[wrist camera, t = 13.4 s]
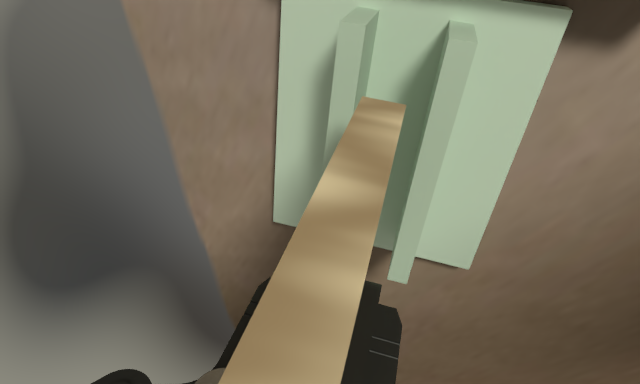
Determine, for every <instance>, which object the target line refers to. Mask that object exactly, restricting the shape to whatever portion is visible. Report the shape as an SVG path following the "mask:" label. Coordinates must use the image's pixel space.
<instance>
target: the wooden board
mask: <svg viewBox="0 0 640 384" xmlns="http://www.w3.org/2000/svg"><path fill="white" fill-rule="evenodd" d="M405 109H406V105H404V104H399V103H394V102H389V101H384V100H379V99H374V98H369V97H364V96H362V98H361V100H360V102H359V104H358V106H357V108H356V110H355V112H354V114H353V116H352V118H351V120H350V122H349V124H348V126H347V128H346V130H345V132H344V134H343V136H342V138H341V139H340V141H339V143H338V145H337V147H336V149H335V151H334V153H333V155H332V157H331V159H330V161H329V163H328V165H327V167H326V169H325V171H324V173H323V175H322V177H321V179H320V181H319V183H318V185H317V187H316V189H315V191H314V193H313V195H312V197H311V199H310V201H309V203H308V205H307V207H306V209H305V211H304V213H303V215H302V217H301V219H300V221H299V223H298V225H297V227H296V229H295V231H294V233H293V235H292V237H291V239H290V241H289V243H288V245H287V247H286V249H285V251H284V253H283V255H282V257H281V259H280V261H279V263H278V265H277V267H276V269H275V271H274V273H273V275H272V277H271V279H270V281H269V283H268V285H267V287H266V289H265V291H264V293H263V295H262V297H261V299H260V301H259V303H258V305H257V307H256V309H255V311H254V313H253V315H252V317H251V319H250V321H249V323H248V325H247V327H246V329H245V331H244V333H243V335H242V337H241V339H240V341H239V343H238V345H237V347H236V349H235V351H234V353H233V355H232V357H231V359H230V361H229V363H228V365H227V367H226V369H225V371H224V373H223V375H222V377H221V379H220V381H219V383H218V384H340V383H341V379H342V375H343V371H344V366H345V362H346V358H347V354H348V349H349V345H350V341H351V337H352V333H353V328H354V324H355V320H356V316H357V311H358V307H359V303H360V299H361V295H362V290H363V286H364V282H365V278H366V273H367V269H368V265H369V261H370V257H371V252H372V248H373V244H374V240H375V235H376V231H377V227H378V223H379V218H380V214H381V210H382V206H383V202H384V197H385V193H386V189H387V185H388V180H389V176H390V172H391V168H392V164H393V159H394V155H395V151H396V147H397V142H398V138H399V134H400V130H401V126H402V121H403V117H404V113H405Z"/></svg>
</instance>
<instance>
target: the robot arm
mask: <svg viewBox="0 0 640 384" xmlns="http://www.w3.org/2000/svg"><path fill="white" fill-rule="evenodd" d="M271 277H272V276H271ZM271 277H269V278H268V279H267V280H266V281H264V282H263V283H262V284H261V285H259V286H258V288H257V290H256V292H255V294H254V296H253V298H252V300H251V302H250V304H249V305H248V307H247V309H246V311H245V313H244V316H242V318H241V320H240V322H239V324H238V326H237V328H236V330H235V331H234V333H233V335H232V337H231V339H230V341H229V343H228V345H227V347H226V349H225V350H224V352H223V354H222V356H221V358H220V360H219V361H218V363H217V365H216V366H215V367H214V368H213V369H212V370H211V371H209V372H207V373H206V374H204V375H203V376H201V377H200V378H199V379H198V380H196V381H193V382H190V383H184V384H218V383H219V381H220V379H221V377H222V375H223V373H224V371H225V369H226V367H227V365H228V363H229V361H230V359H231V357H232V355H233V353H234V351H235V349H236V347H237V345H238V343H239V341H240V339H241V337H242V335H243V333H244V331H245V329H246V327H247V325H248V323H249V321H250V319H251V317H252V315H253V313H254V311H255V309H256V307H257V305H258V303H259V301H260V299H261V297H262V295H263V293H264V291H265V289H266V287H267V285H268V283H269V281H270V279H271ZM381 286H382V285H380V284H377V283H373V282H369V281H365V282H364V286H363V290H362V295H361V299H360V303H359V307H358V311H357V316H356V320H355V324H354V328H353V333H352V337H351V341H350V345H349V349H348V354H347V358H346V362H345V366H344V371H343V375H342V379H341V383H340V384H395V381H396V373H397V364H398V356H399V348H400V339H401V331H402V324H401V321H400V318H399V315H398V312H397V309H396V308H392V307H388V306H385V305H381V304H378V302H379V297H380V292H381ZM91 384H152V383H151V381H150V379H149V378H148V377H147V376H146V375H145V374H144V373H142V372H140V371H137V370H133V369H124V370H118V371H115V372H112V373H110V374H108V375H106V376H104V377H102V378H101V379H99V380H97V381H95V382H93V383H91Z"/></svg>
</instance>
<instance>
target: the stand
mask: <svg viewBox="0 0 640 384" xmlns="http://www.w3.org/2000/svg"><path fill="white" fill-rule="evenodd" d="M572 12H573V10H571V9H570V8H569V7H566V6H559V5H551V4H544V3H537V2H530V1H522V0H282V2H281V28H280V54H279V81H278V107H277V133H276V159H275V185H274V212H273V222H277V223H281V224H285V225H290V226H294V227H297V225H298V223H299V221H300V219H301V217H302V215H303V213H304V211H305V209H306V207H307V205H308V203H309V201H310V199H311V197H312V195H313V193H314V191H315V189H316V187H317V185H318V183H319V181H320V179H321V177H322V175H323V173H324V171H325V169H326V167H327V165H328V163H329V161H330V159H331V157H332V155H333V153H334V151H335V149H336V147H337V145H338V143H339V141H340V139H341V138H342V136H343V134H344V132H345V130H346V128H347V126H348V124H349V122H350V120H351V118H352V116H353V114H354V112H355V110H356V108H357V106H358V104H359V102H360V100H361V98H362V96H364V97H369V98H374V99H379V100H384V101H389V102H394V103H399V104H404V105H406V109H405V113H404V117H403V121H402V126H401V130H400V134H399V138H398V142H397V147H396V151H395V155H394V159H393V164H392V168H391V172H390V176H389V180H388V185H387V189H386V193H385V197H384V202H383V206H382V210H381V214H380V218H379V223H378V227H377V231H376V235H375V240H374V244H373V246H375V247H379V248H383V249H387V250H391V251H392V256H391V262H390V267H389V272H388V278H387V279H388V280H392V281H396V282H400V283H404V284H407V281H408V278H409V274H410V271H411V268H412V264H413V261H414V257H420V258H424V259H428V260H432V261H436V262H440V263H444V264H448V265H452V266H456V267H460V268H464V269H468V270H469V268H470V266H471V263H472V261H473V258H474V256H475V253H476V251H477V248H478V246H479V243H480V241H481V238H482V236H483V233H484V231H485V228H486V226H487V223H488V221H489V218H490V216H491V213H492V211H493V208H494V206H495V203H496V201H497V199H498V196H499V194H500V191H501V189H502V186H503V184H504V181H505V179H506V176H507V174H508V171H509V169H510V166H511V164H512V161H513V159H514V156H515V154H516V151H517V149H518V146H519V144H520V141H521V139H522V136H523V134H524V131H525V129H526V126H527V124H528V121H529V119H530V116H531V114H532V112H533V109H534V107H535V104H536V102H537V99H538V97H539V94H540V92H541V89H542V87H543V84H544V82H545V79H546V77H547V74H548V72H549V69H550V67H551V64H552V62H553V59H554V57H555V54H556V52H557V49H558V47H559V44H560V42H561V39H562V37H563V34H564V32H565V29H566V27H567V25H568V22H569V20H570V17H571V15H572Z"/></svg>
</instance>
